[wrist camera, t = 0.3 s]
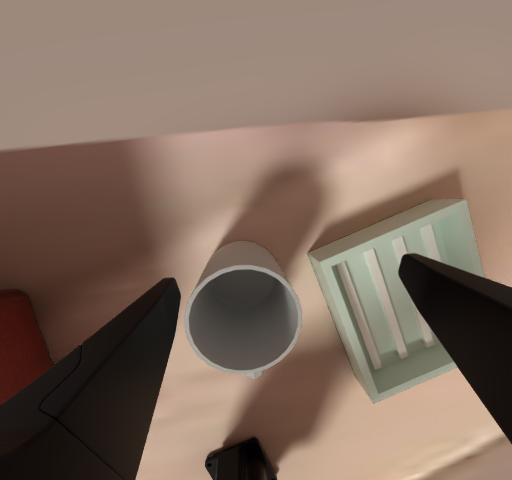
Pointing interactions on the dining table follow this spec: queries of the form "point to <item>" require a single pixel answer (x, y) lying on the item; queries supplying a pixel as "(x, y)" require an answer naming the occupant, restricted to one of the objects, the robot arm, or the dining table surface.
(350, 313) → the drying rack
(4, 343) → the plant pot
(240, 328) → the cup
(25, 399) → the robot arm
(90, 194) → the dining table surface
